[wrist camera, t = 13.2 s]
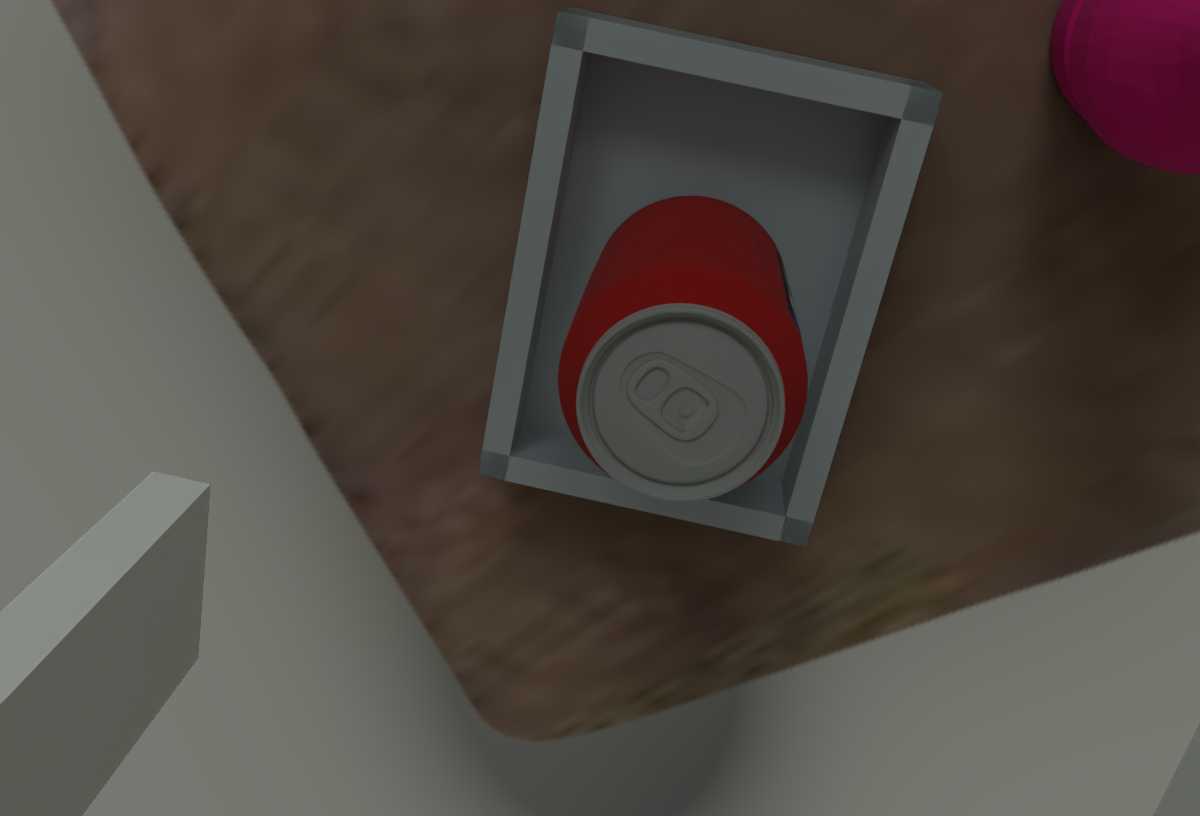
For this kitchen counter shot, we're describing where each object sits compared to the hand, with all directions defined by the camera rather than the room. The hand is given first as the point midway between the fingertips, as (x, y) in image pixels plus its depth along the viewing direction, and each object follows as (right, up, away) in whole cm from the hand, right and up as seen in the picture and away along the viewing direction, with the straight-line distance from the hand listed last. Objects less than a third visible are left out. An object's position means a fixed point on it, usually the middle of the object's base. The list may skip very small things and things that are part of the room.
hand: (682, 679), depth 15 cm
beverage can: (+2, +8, +25) cm, 26 cm away
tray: (+2, +8, +26) cm, 27 cm away
